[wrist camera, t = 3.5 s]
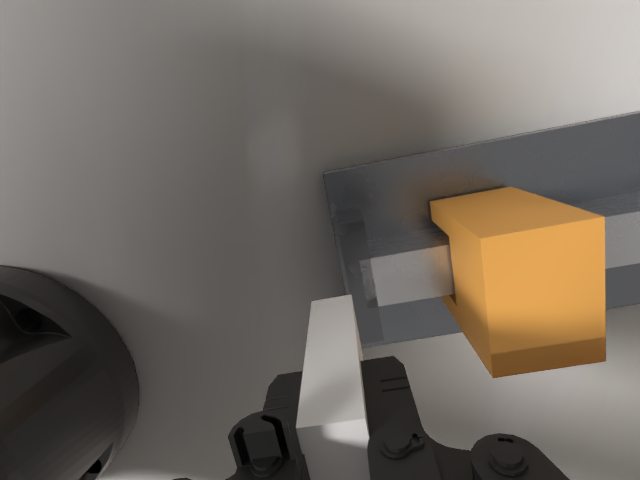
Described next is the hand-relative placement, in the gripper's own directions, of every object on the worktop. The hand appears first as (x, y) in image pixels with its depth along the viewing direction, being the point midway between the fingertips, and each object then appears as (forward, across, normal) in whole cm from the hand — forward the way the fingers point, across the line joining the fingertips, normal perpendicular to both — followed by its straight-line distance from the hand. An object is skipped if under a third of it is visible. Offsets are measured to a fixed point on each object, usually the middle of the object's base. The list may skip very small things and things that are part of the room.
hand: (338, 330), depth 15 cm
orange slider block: (+6, +7, 0) cm, 10 cm away
